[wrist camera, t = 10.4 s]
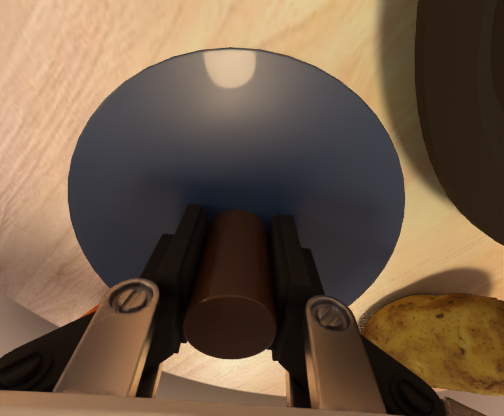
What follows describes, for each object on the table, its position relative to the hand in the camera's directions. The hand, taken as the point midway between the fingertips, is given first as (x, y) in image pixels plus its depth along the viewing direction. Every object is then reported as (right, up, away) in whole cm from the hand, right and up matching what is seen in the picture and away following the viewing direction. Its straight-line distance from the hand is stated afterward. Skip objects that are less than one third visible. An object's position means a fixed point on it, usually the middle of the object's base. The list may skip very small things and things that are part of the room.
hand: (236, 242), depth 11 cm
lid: (0, 0, +1) cm, 1 cm away
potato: (+16, -8, +15) cm, 24 cm away
